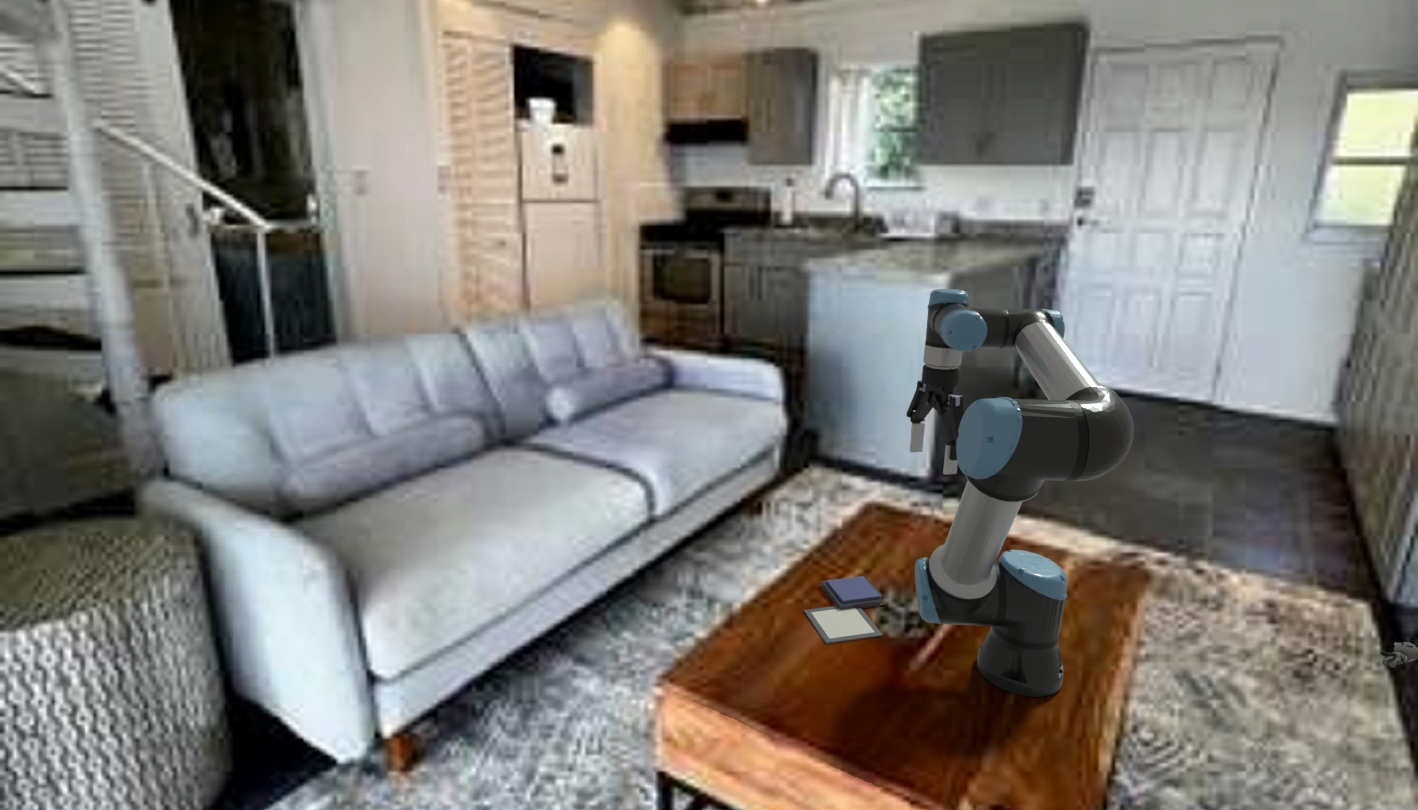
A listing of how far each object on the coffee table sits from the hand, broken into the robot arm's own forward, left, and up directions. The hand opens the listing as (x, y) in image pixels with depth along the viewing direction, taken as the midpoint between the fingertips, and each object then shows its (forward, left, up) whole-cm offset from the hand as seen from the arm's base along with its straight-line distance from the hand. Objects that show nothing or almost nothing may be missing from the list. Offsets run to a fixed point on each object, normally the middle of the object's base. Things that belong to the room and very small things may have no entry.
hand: (932, 462), depth 162 cm
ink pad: (+3, +15, -32) cm, 35 cm away
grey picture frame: (-7, +22, -32) cm, 39 cm away
